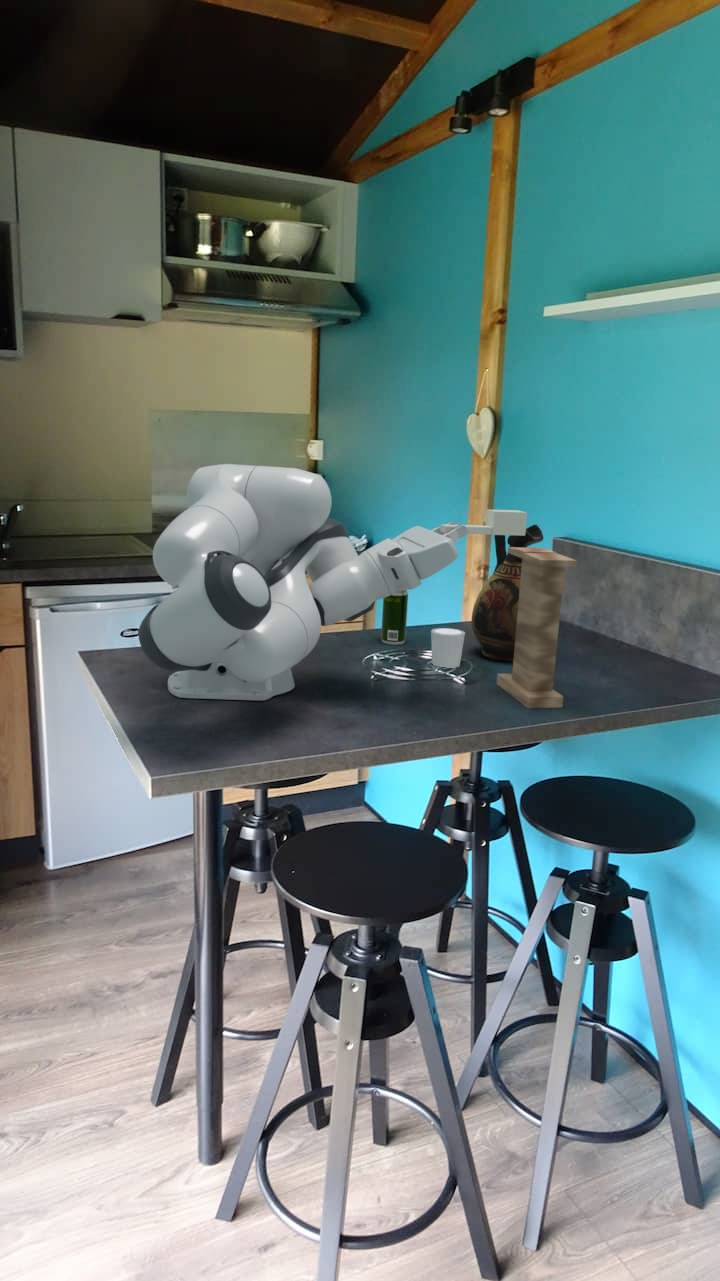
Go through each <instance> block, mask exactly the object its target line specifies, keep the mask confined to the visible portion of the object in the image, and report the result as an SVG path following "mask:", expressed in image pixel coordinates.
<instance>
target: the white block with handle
mask: <svg viewBox="0 0 720 1281" xmlns="http://www.w3.org/2000/svg"><path fill="white" fill-rule="evenodd" d="M527 520H528V512H527V511H522V510H520V509H519V510H516V509H513V510H512V509H510V510H509V509H492V508H491V509H487V508H486V514H485V525H481V524H480V525H476V524H475V525H474V524H463V525H464V526H466V529H467V531H468V534H467V535H492V536H495V535H505V536H510V535H519V536H525V532H526V528H527ZM447 524H448V523H447ZM447 524H445V523H444V524H440V526H439V527H440V531H441V532H443V533H449V532H450V531H452V530H453V528H455V527H456V526H458V525H459V524H458V525H447Z"/></svg>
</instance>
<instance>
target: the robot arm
mask: <svg viewBox="0 0 720 1281" xmlns="http://www.w3.org/2000/svg"><path fill="white" fill-rule="evenodd" d="M186 501H187V506H188V508H187V509H185V510H184V511H183V512H181V513H180V514H178V516H176V517H175V518H174V519H173V520H172V521H171V522H170V523H169V524H168V525H167V526H166V527H165V529H164V530H163V531H162V532H161V534H160V535H159V537H158V538H157V539H156V542H155V544H154V546H153V550H152V562H153V565H154V568H155V570H156V572H157V575H159V576H160V578H161V579H162V580H163V581H164V582H165V583H167V584H168V585H169V586H171V589H172V590H174V591H172V592H171V593H170V594H169V595H168V596H166V598H164V599H163V600H162V601H161V602H160V603H159V604H157V605H155V606H153V607H152V608H151V609H150V610H149V611H148V612H147V613H146V615H145V617H144V618H143V619H142V620H141V622H140V625H139V629H138V640H139V644H140V647H141V649H142V651H143V653H144V654H145V656H146V657H147V658H148V659H149V661H150V662H152V664H153V665H156V667H157V668H160V669H163V670H165V671H168V672H173V673H172V674H170V675H169V677H168V679H167V689H168V692H169V693H171V695H173V696H175V697H177V698H181V699H182V698H183V699H207V700H209V699H210V700H233V701H234V700H235V701H236V700H237V701H266V700H269V699H271V698H272V697H274V696H278V695H282V694H285V693H287V692H290V691H292V690H293V689H294V688H295V686H296V684H295V682H294V676H293V672H292V668H293V667H295V666H296V665H297V664H299V663H300V662H301V661H302V660H303V659H304V658H306V657H307V656H308V655H309V654H310V653H311V652H312V651H313V649H314V648H315V646H316V645H317V643H318V641H319V638H320V636H321V631H322V626H323V627H328V626H331V625H334V624H337V623H340V622H341V621H344V622H345V621H346V622H348V623H349V622H350V623H351V622H353V621H355V620H357V619H359V618H360V617H362V616H363V615H366V614H367V613H369V612H371V611H372V610H374V607H375V603H376V601H378V600H380V599H383V598H385V597H388V596H390V595H392V594H394V593H395V592H398V591H401V590H405V589H407V591H408V590H415V589H416V588H418V587H420V586H421V585H422V582H421V581H422V580H425V579H428V578H429V577H431V576H433V575H435V574H436V573H437V574H438V572H440V571H442V570H443V569H445V568H446V567H447V566H449V565H450V564H452V563H453V562H455V561H456V560H457V559H458V557H459V553H458V552H459V551H458V550H457V547H456V546H455V544H456V543H457V542H458V541H459V540H460V539H461V538H464V537H465V536H467V535H469V534H468V531H467V529H466V526H464V525H465V524H458V523H457V522H456V521H450V522H449V523H447V525H458V526H456V527H455V528H453V530H452V531H450V532H449V533H443V532H441V531H440V526H438V527H435V528H433V529H431V530H430V529H427V528H425V527H424V526H423V527H422V526H421V525H416V526H413V527H411V528H409V529H407V530H405V531H404V532H402V533H401V534H399V535H397V536H396V537H394V538H392V539H391V538H389V537H388V538H385V539H384V540H382V541H380V542H378V543H377V544H375V545H373V546H371V547H369V548H367V549H366V550H364V551H362V552H361V553H360V554H358V552H357V551H356V548H355V547H354V545H353V543H352V541H351V538H350V536H349V533H348V531H347V528H346V526H345V524H344V523H342V522H341V521H338V520H336V519H333V518H331V517H329V515H330V513H331V509H332V493H331V490H330V487H329V485H328V483H327V481H326V480H325V478H324V477H323V476H322V475H320V474H317V473H314V472H311V471H307V470H304V469H300V468H298V467H297V468H296V467H283V466H270V465H269V466H265V465H248V464H238V463H237V464H234V463H223V464H215V465H208V466H202V467H199V468H198V469H197V470H196V471H195V472H194V473H193V474H192V476H191V477H190V479H189V481H188V485H187V488H186ZM306 574H307V576H308V577H309V579H310V580H311V583H310V584H309V583H308V580H307V576H306Z"/></svg>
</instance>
